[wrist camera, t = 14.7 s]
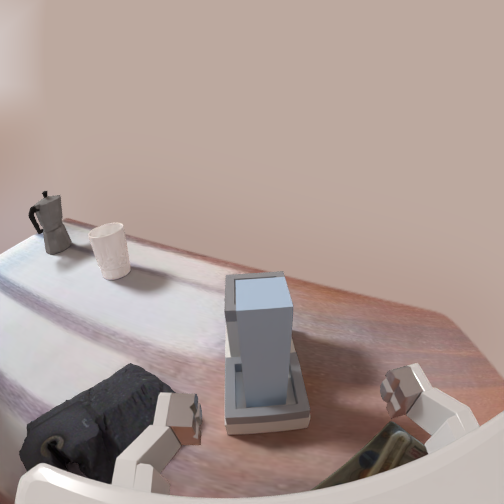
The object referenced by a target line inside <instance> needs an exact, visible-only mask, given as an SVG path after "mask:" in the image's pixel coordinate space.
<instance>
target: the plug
mask: <svg viewBox="0 0 504 504" xmlns="http://www.w3.org/2000/svg"><path fill="white" fill-rule="evenodd" d="M236 316H237V326H238V336H239V345H240V355H241V364H242V373H243V382H244V391H245V400H246V408H249V407H263V406H274V405H284V404H286V398H287V387H288V375H289V363H290V349H291V335H292V319H293V304H292V301H291V297H290V294H289V291H288V287H287V284H286V280H285V277H275V278H261V279H246V280H236Z"/></svg>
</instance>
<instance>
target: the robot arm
mask: <svg viewBox="0 0 504 504" xmlns="http://www.w3.org/2000/svg"><path fill="white" fill-rule="evenodd" d="M385 376H386V379H385V380H384V381H383V382H382V384H381V386H380V393H381V397H382V399H383V401H385V402H387V407H386V408H387V411H388V413H389V416H390V418H391V419H392V418H395V417H399V416H402V415H405V414H406V415H407V416H408V417H409V418H410V419H412V420H413V421H414V422H415V423H416V424H418V425H419V426H420V427H421V428H423V429H424V430H425V431H426V432H428V433H429V434H430V435H431V437H430V438H429V439H428V440H427V441H426V443H425V447H426V449H427V452H428V455H426V456H423V457H421V458H419V459H417V460H414V461H412V462H409V463H407V464H404V465H402V466H399V467H396V468H394V469H391V470H388V471H385V472H382V473H379V474H376V475H373V476H370V477H367V478H363V479H360V480H356V481H353V482H349V483H345V484H341V485H336V486H332V487H327V488H323V489H317V490H312V491H306V492H300V493H293V494H285V495H277V496H266V497H251V498H199V497H184V496H174V495H170V483H169V481H168V480H166V479H165V478H164V477H163V476H162V475H161V474H160V473H161V472H162V470H163V469H164V468H165V467H166V465H167V464H168V463H169V461H170V460H171V459H172V457H173V456H174V455H175V454H176V452H177V451H178V450H179V448H180V447H181V445H201V430H200V427H199V426H200V425H201V424H202V410H201V405H200V403H198V396H197V394H184V393H162V392H160V394H159V396H158V401H157V406H156V412H155V417H154V423H153V425H149V426H148V427H147V428H146V429H145V430H144V431H143V432H142V433H141V434H140V435H139V436H138V437H137V438H136V439H135V440H134V441H133V442H132V443H131V444H130V445H129V446H128V447H127V448H126V449H125V450H124V451H123V452H122V453H121V454H120V455H119V456H118V457H117V458H116V463H115V468H114V473H113V479H112V484H107V483H103V482H99V481H96V480H92V479H89V478H85V477H82V476H79V475H76V474H73V473H70V472H67V471H65V470H62V469H59V468H57V467H54V466H51V465H49V464H45V463H40V464H38V465H36V466H35V467H33V468H32V469H30V470H29V471H28V472H26V473H25V474H24V475H23V476H22V477H21V478H20V481H19V484H18V488H17V493H16V498H15V504H504V411H502V412H501V413H500V414H498V415H497V416H495V417H494V418H492V419H491V420H489V421H488V422H486V423H485V424H483V425H482V426H479V424H478V422H477V420H476V418H475V417H474V415H473V413H472V411H471V409H470V408H469V407H468V406H466V405H465V404H463V403H461V402H459V401H458V400H456V399H454V398H452V397H451V396H449V395H447V394H445V393H444V392H442V391H440V390H439V389H437V388H432V386H431V384H430V382H429V381H428V379H427V377H426V376H425V374H424V372H423V370H422V369H421V367H420V365H419V364H417V363H414V364H411V365H408V366H403V367H400V368H397V369H393V370H389V371H388V372H387V373H386V375H385Z"/></svg>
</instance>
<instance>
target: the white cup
mask: <svg viewBox="0 0 504 504" xmlns="http://www.w3.org/2000/svg"><path fill="white" fill-rule="evenodd" d="M88 236H89V239H90V243H91V246H92V249H93V252H94V255H95V257H96V260H97V263H98V266H99V267H100V269H101V272H102V275H103V277H104V278H105V279H107V280H115V279H119V278H121V277H124V276H126V275H127V274H128V273H129V272H130V270H131V266H130V261H129V254H128V249H127V243H126V238H125V232H124V226H123V224H122V223H109V224H105V225H102V226H99V227H97V228H95V229H93V230H92V231H90V232H89V234H88Z"/></svg>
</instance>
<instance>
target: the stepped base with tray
mask: <svg viewBox="0 0 504 504" xmlns="http://www.w3.org/2000/svg"><path fill="white" fill-rule="evenodd" d="M275 277H285V276H284V273H283V271H280V272H266V273H251V274H235V275H226V285H225V318H226V343H225V427H226V431H227V434H228V435H237V434H255V433H268V432H278V431H287V430H295V429H302V428H308V425H309V422H310V418H311V416H310V406H309V402H308V398H307V393H306V389H305V385H304V381H303V376H302V372H301V368H300V364H299V360H298V356H297V352H295V348H294V344H293V340H292V335H291V349H290V363H289V375H288V387H287V398H286V404H284V405H274V406H263V407H249V408H246V400H245V391H244V382H243V373H242V364H241V355H240V345H239V336H238V326H237V316H236V280H246V279H261V278H275ZM285 280H286V279H285ZM286 284H287V283H286ZM287 287H288V286H287ZM288 291H289V289H288ZM289 294H290V293H289ZM290 297H291V296H290ZM291 301H292V300H291ZM292 304H293V303H292ZM292 322H293V319H292Z"/></svg>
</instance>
